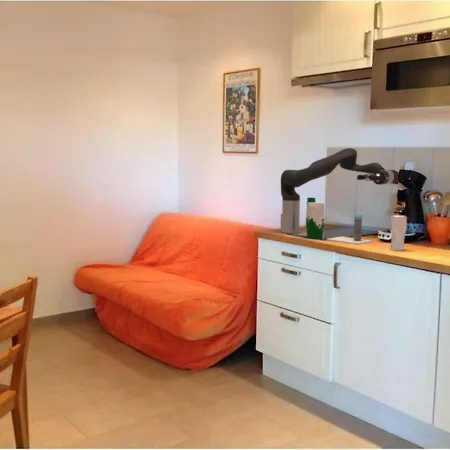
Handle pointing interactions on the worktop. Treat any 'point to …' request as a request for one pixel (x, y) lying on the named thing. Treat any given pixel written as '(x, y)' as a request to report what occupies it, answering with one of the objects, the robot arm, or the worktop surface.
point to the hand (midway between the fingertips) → (365, 178)
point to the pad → (349, 240)
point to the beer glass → (398, 231)
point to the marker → (357, 227)
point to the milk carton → (314, 218)
